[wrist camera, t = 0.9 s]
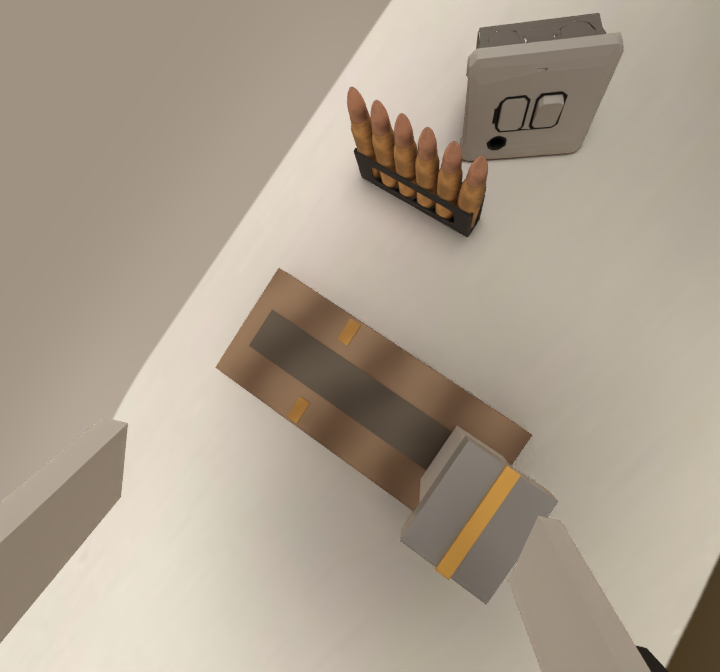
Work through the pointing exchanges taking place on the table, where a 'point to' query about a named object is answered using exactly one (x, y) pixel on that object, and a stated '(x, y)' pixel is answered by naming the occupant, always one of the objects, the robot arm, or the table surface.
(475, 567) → the fader tab
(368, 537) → the table surface
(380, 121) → the ammunition clip
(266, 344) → the fader console
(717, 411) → the table surface
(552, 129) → the electrical switch
